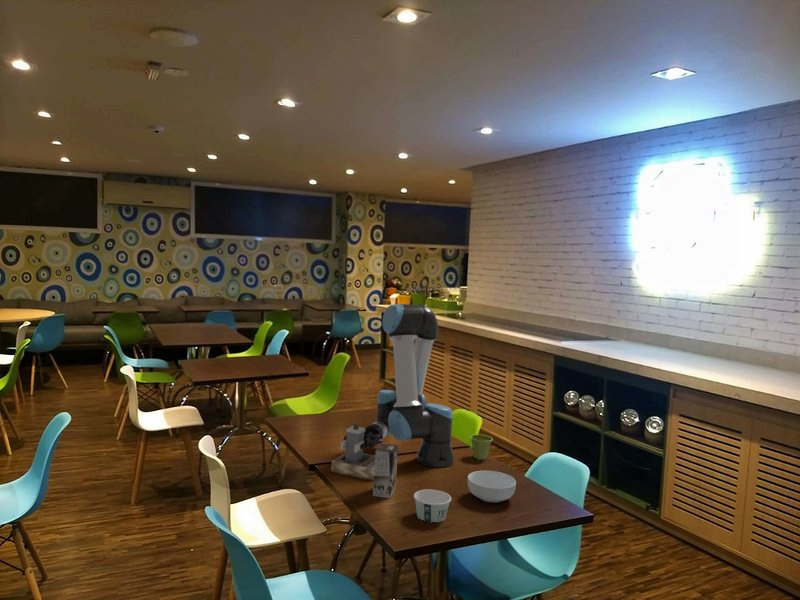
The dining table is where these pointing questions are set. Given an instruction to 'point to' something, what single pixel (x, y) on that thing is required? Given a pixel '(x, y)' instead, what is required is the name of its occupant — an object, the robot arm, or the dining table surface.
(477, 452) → the plant pot
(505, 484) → the cereal bowl
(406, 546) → the dining table surface
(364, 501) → the dining table surface
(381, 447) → the coffee box
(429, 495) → the food container
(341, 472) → the tray
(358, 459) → the grey pepper mill
